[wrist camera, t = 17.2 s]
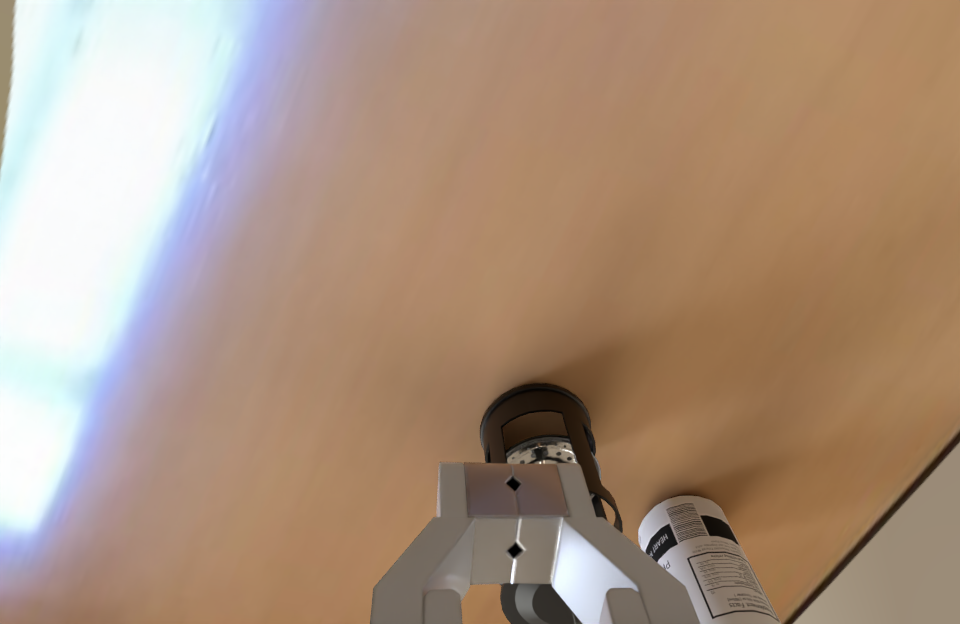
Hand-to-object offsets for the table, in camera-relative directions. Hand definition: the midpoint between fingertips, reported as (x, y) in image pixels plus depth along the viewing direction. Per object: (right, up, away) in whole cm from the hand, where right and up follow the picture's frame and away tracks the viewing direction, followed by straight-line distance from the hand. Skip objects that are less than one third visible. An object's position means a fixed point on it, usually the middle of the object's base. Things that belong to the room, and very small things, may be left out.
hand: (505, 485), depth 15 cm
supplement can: (+18, -16, +50) cm, 55 cm away
